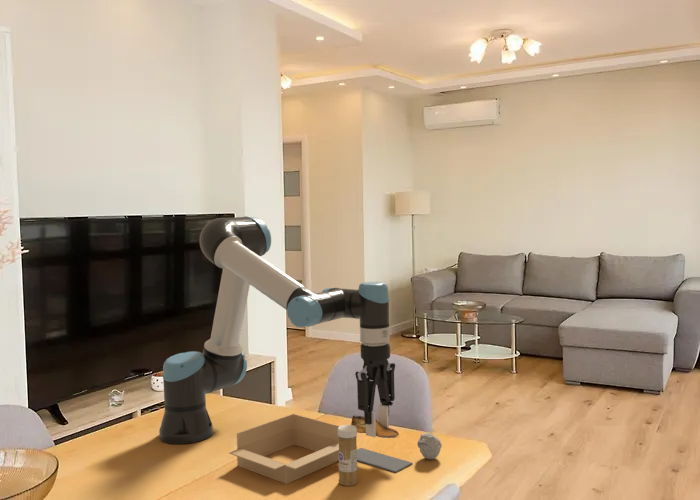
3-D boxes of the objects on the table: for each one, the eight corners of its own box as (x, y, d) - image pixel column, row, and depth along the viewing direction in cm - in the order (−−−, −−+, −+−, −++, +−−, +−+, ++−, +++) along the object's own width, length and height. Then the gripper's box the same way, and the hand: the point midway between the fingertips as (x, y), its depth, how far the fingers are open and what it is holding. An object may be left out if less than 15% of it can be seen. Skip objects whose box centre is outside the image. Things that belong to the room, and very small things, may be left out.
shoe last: (393, 440, 167) (393, 422, 166) (348, 431, 174) (348, 413, 174) (402, 435, 170) (402, 417, 170) (358, 426, 178) (357, 409, 178)
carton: (228, 469, 169) (227, 436, 168) (294, 443, 186) (293, 413, 186) (286, 491, 155) (285, 455, 154) (351, 461, 172) (351, 428, 172)
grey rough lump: (412, 460, 172) (412, 434, 171) (426, 452, 177) (426, 426, 177) (433, 466, 168) (432, 438, 168) (446, 457, 174) (446, 431, 173)
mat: (343, 456, 175) (343, 455, 175) (361, 449, 181) (361, 447, 181) (395, 472, 164) (395, 471, 164) (412, 464, 169) (412, 462, 169)
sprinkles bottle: (334, 483, 159) (333, 427, 158) (347, 477, 162) (346, 422, 161) (349, 488, 156) (348, 431, 155) (362, 481, 159) (360, 426, 158)
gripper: (364, 351, 161) (366, 445, 163) (407, 338, 175) (409, 426, 176) (340, 347, 166) (343, 439, 168) (385, 335, 179) (387, 421, 181)
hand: (377, 432), depth 172 cm, fingers closed on shoe last, 5 cm apart
